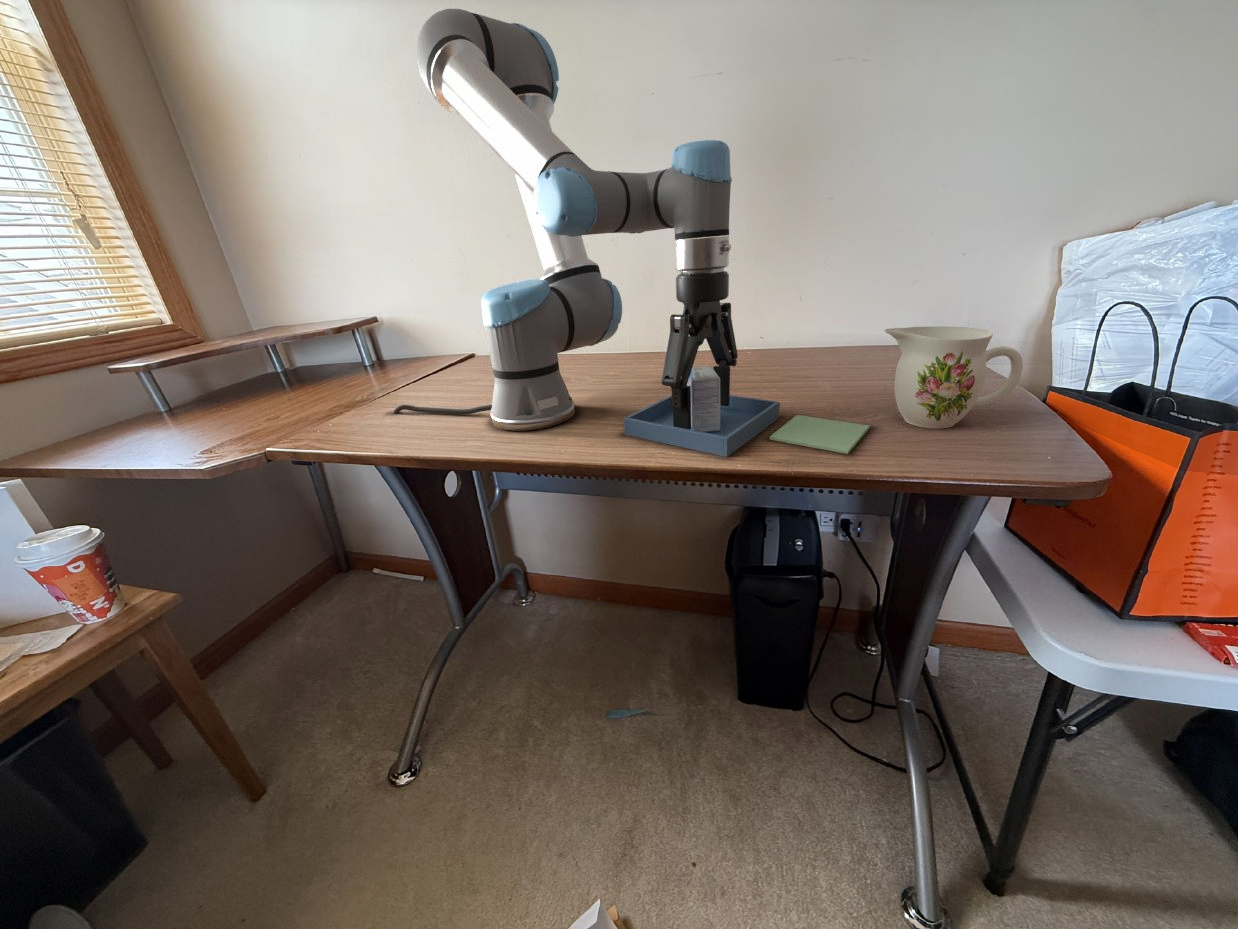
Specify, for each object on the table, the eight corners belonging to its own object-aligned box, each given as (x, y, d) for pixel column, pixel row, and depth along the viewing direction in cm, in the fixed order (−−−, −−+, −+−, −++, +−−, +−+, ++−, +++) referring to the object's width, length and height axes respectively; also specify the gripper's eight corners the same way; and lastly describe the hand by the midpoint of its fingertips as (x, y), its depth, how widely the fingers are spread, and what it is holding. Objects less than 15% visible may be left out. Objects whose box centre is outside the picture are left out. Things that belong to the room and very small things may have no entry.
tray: (624, 434, 77) (623, 418, 76) (684, 403, 90) (684, 388, 88) (727, 457, 66) (727, 438, 65) (778, 417, 79) (780, 401, 78)
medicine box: (720, 432, 74) (721, 377, 70) (691, 434, 74) (691, 379, 71) (712, 415, 81) (712, 365, 78) (686, 417, 81) (685, 367, 78)
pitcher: (1023, 436, 65) (1054, 333, 59) (877, 432, 70) (892, 337, 64) (991, 410, 75) (1015, 319, 69) (864, 408, 80) (877, 323, 74)
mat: (769, 439, 71) (769, 436, 70) (796, 417, 78) (796, 414, 78) (847, 454, 64) (848, 450, 64) (869, 428, 72) (869, 425, 71)
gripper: (679, 278, 58) (682, 444, 67) (762, 263, 74) (756, 398, 83) (630, 280, 62) (639, 435, 71) (719, 265, 79) (717, 393, 88)
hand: (702, 415), depth 77 cm, fingers open, 12 cm apart
